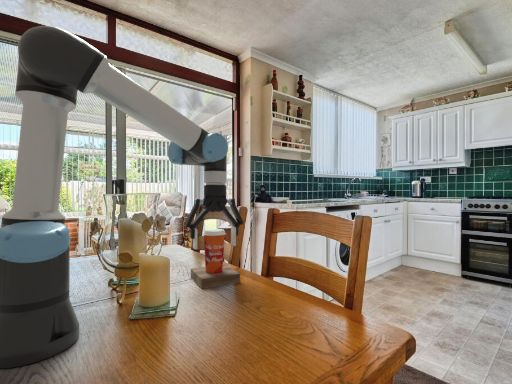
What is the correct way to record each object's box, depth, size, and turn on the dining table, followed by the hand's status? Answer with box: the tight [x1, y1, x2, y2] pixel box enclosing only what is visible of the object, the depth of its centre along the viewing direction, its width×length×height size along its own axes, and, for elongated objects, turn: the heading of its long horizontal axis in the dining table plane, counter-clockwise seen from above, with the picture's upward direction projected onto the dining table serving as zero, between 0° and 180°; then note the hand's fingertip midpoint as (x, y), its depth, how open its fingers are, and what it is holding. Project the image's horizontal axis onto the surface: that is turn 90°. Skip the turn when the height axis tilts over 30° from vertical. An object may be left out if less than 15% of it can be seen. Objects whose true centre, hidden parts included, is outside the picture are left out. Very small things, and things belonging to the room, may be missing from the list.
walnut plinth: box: [190, 264, 241, 289], centre depth 96 cm, size 13×13×3 cm
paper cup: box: [202, 228, 227, 274], centre depth 96 cm, size 8×8×14 cm
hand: (214, 247), depth 96 cm, fingers open, 13 cm apart
